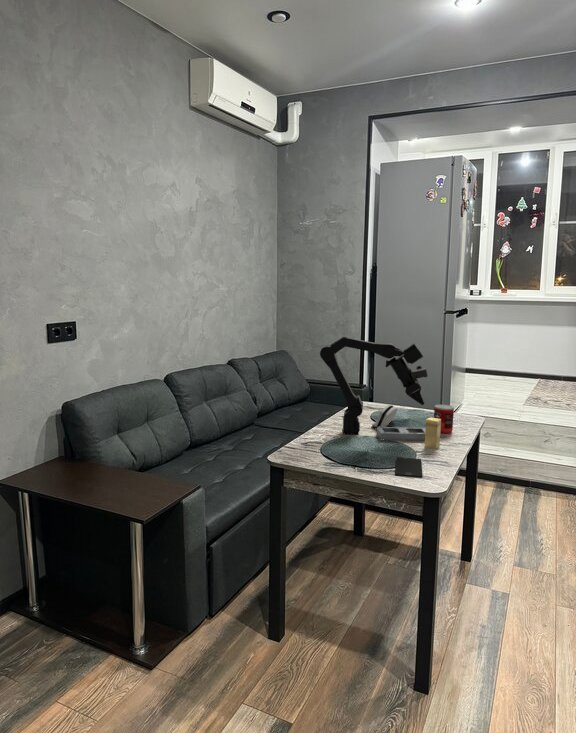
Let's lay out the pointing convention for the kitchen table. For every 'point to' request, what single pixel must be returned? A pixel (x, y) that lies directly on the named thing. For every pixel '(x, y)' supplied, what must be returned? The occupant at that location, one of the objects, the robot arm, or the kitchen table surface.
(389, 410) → the game console
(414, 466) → the cell phone
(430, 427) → the tan tall block
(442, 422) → the canned food
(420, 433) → the grey cinder block
